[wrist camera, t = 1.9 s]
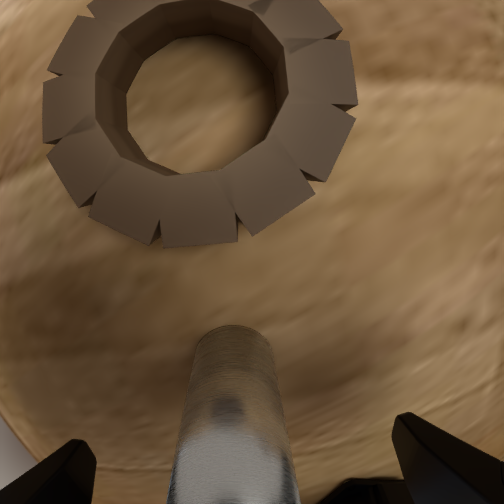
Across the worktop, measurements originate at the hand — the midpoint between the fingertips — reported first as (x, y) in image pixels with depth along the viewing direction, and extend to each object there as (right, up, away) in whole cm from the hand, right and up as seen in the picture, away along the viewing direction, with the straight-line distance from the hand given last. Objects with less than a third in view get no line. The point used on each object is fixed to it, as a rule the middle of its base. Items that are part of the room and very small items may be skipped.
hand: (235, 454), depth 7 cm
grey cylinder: (0, +1, +5) cm, 5 cm away
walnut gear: (-1, +10, +2) cm, 11 cm away
